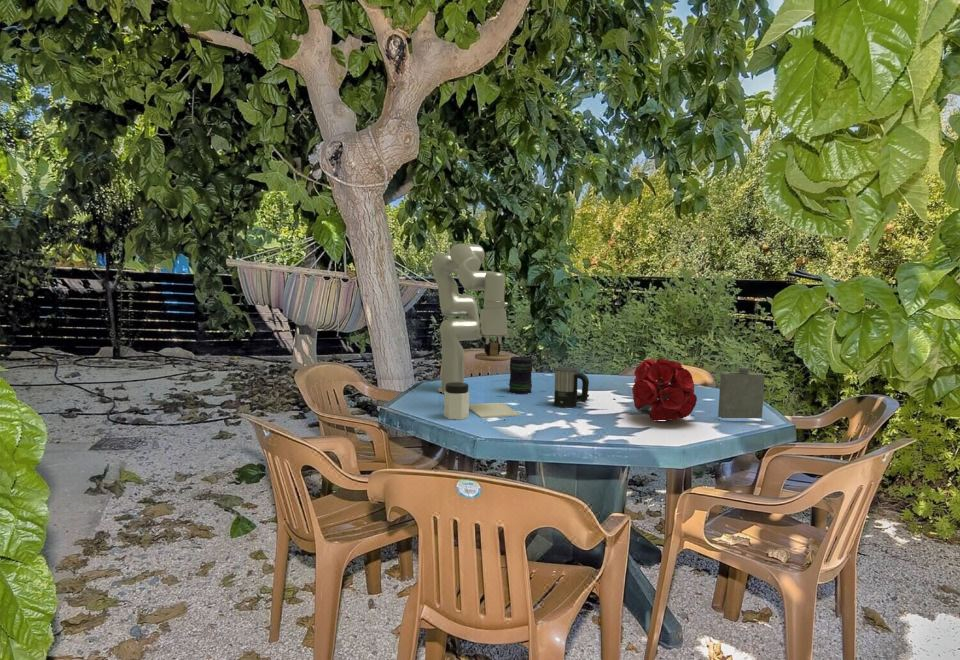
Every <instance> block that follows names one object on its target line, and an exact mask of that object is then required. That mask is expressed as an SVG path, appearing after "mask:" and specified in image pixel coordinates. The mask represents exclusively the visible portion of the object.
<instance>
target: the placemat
mask: <svg viewBox="0 0 960 660" xmlns="http://www.w3.org/2000/svg"><path fill="white" fill-rule="evenodd" d="M469 410H471V411H472V412H473V414H475V415H476V416H478V417H479V418H480V419H489V418H490V419H491V418H506V417H507V418H509V417H508V416H512V417H521V414H520V413H519V412H518V411H515V410H514V409H513V408H511V407H509V406H508V405H507V404H505V403H504V402H490V403H489V402H488V403H485V402H484V403H469Z"/></svg>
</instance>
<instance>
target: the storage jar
mask: <svg viewBox="0 0 960 660" xmlns="http://www.w3.org/2000/svg"><path fill="white" fill-rule="evenodd" d="M509 360H510V361H509V371H510V374H509V375H510V377H509V384H508V386H509V391H508V393H510V392H511V393H510V394H513V393H515V394H514V395H529V394H528V393H530V394H532V386H533V385H532V383H533V382H532V381H533V380H532V372H533V357H531V356H530V357H529V356H511V357H509Z"/></svg>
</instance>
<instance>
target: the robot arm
mask: <svg viewBox="0 0 960 660" xmlns="http://www.w3.org/2000/svg"><path fill="white" fill-rule="evenodd" d="M485 257H486V255H485V250H484V248H483V247H482V246H481V245H480V244H475V243H474V244H473V243H457V244H454V245H453V246H452V247H451V248H450V249H449V252H442V253H438V254H436V255H435V256H433V259H432V264H431V265H432V266H431V269H432V274H433V277H434V280H435V282H436V285H437V290H438V298H439V304H440V310H441V311H440V312H441V314H442V315H443V316H445V317H464V318H449V319H445V320H443V321H442V322H441V324H440V327H439V328H440V329H439V333H440V337H441V338H440V339H441V386H440V387H438V388H437V392H438V391H439V392H438V393H440V392H442V393H441V394H443V393H444V392H445V391H446V389H445V387H446V384H447V383H451V382H461V383H465V350H464V348H463V346H462V345H461V343H460V342H462V341H463V342H464V341H476V340H478V339H479V340H481V341H482V342H483V344H484V353H486V354H487V355H490V344H489V342H490V337H495V339H496V341H495V342H497V343H498V355H499V353H500V352H501V345H502V343H503V342H504V341H505V340H506V339H508V338H510V337H511V334H510V333H509V331H508V321H507V319H508V318H507V312H506V309H505V307H507V306H508V304H509V303H508V302H506V301H505V292H506V291H505V288H506V276H505V274H504V272H503V273H502V272H496V271H493V270H491V271H490V270H480V268H481V265H482V263H484V261H485ZM450 273H451V274H457V277H458V281H459V283H460V285H462V286H463V288H465V289H466V290H468V291H471V292H472V291H475V292H476V291H477V292H479V291H481V292H482V291H484V292H483V308H481V310H480V314H479V307H478V303H477V300H476V298H475V297H474V296H473V295H471V294H461V293H460V292H459V287H458V283H457V282H456V280H455V279H454V277H453V276H452V275H450Z"/></svg>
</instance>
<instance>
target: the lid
mask: <svg viewBox="0 0 960 660" xmlns="http://www.w3.org/2000/svg"><path fill="white" fill-rule="evenodd" d="M489 344H490V355H487V354H486V352H479V353H476V354H475V355H474V359H476V360H479V361H487V362H504V361H509V360H510V355H509V354H506V353H500V352H499V355H498V343H497V342H496V341H489Z"/></svg>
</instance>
